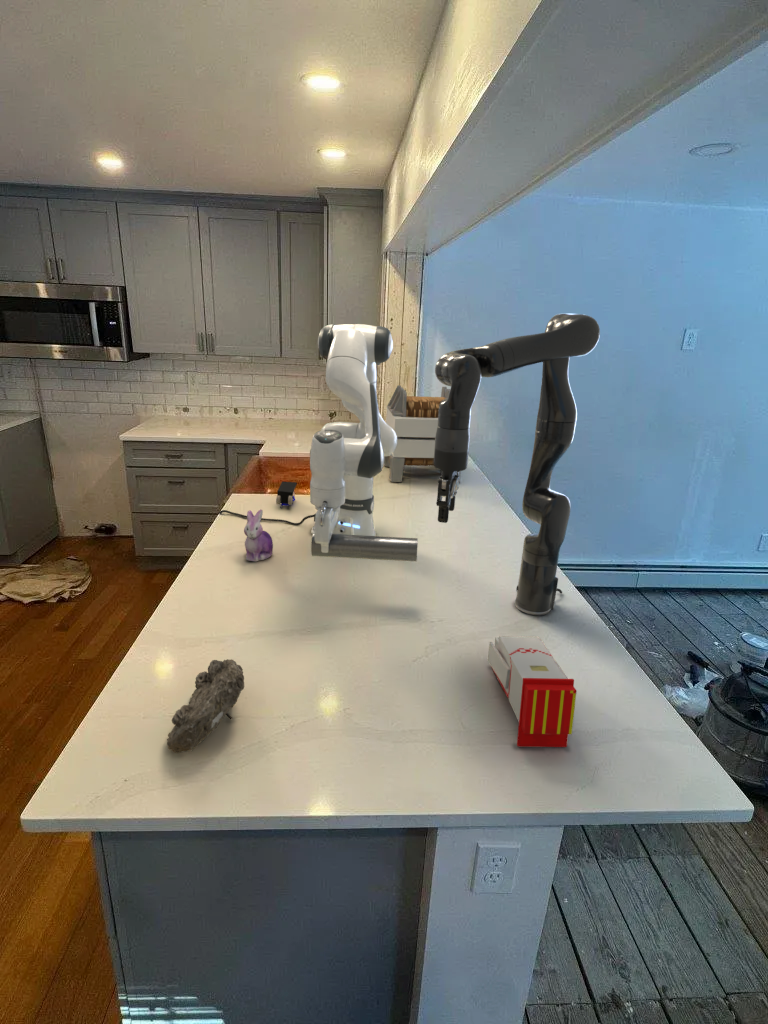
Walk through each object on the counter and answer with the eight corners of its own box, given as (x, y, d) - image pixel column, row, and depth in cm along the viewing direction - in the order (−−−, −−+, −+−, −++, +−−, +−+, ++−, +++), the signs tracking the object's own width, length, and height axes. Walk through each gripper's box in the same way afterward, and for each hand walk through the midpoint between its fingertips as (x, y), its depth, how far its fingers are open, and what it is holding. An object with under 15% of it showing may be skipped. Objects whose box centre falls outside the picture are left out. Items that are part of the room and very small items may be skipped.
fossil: (192, 660, 117) (244, 628, 112) (224, 691, 120) (276, 661, 115) (142, 746, 98) (202, 712, 93) (182, 779, 101) (242, 748, 96)
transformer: (382, 463, 289) (386, 382, 275) (445, 464, 293) (451, 384, 279) (390, 482, 257) (394, 392, 243) (460, 483, 261) (468, 394, 247)
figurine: (248, 564, 171) (246, 518, 166) (239, 551, 179) (237, 507, 174) (278, 559, 175) (277, 514, 170) (269, 547, 183) (267, 503, 178)
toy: (536, 619, 129) (586, 686, 99) (531, 673, 131) (578, 754, 102) (483, 618, 128) (517, 685, 99) (479, 672, 131) (511, 753, 102)
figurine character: (293, 513, 218) (297, 497, 231) (292, 495, 215) (297, 480, 228) (275, 513, 218) (281, 496, 231) (274, 495, 214) (280, 479, 228)
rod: (311, 559, 146) (310, 538, 144) (315, 550, 152) (314, 529, 150) (416, 565, 145) (417, 544, 143) (416, 555, 151) (417, 534, 149)
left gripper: (334, 510, 133) (334, 563, 138) (344, 483, 152) (343, 531, 157) (308, 509, 133) (308, 562, 138) (321, 482, 152) (321, 530, 157)
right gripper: (463, 456, 118) (457, 528, 123) (473, 442, 130) (466, 508, 136) (428, 452, 119) (423, 524, 125) (441, 438, 132) (436, 504, 138)
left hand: (327, 545), depth 148 cm, fingers closed on rod, 6 cm apart
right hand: (446, 515), depth 130 cm, fingers open, 8 cm apart
